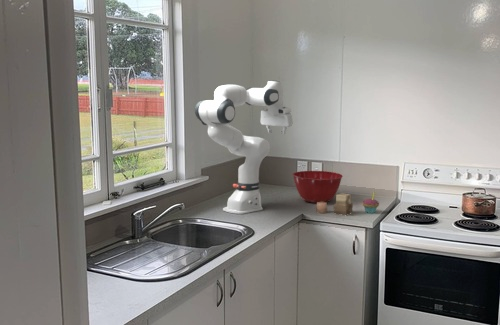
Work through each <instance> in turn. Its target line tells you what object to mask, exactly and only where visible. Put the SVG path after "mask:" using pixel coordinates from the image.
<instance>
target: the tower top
mask: <svg viewBox="0 0 500 325" xmlns="http://www.w3.org/2000/svg"><path fill="white" fill-rule="evenodd" d="M351 195H352V194H348V193H342V192H341V193H339V194H338V193H337V194H335V204H336V205H342V206H347V205H349V204H352V203H351V198H352V196H351Z"/></svg>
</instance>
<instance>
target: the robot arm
mask: <svg viewBox="0 0 500 325" xmlns="http://www.w3.org/2000/svg"><path fill="white" fill-rule="evenodd" d="M213 93H214V94H213V97H214V98H213V100H212V99H204V100H201V101H200V100H199V101H198V102H197V103H196V105H195V106H194V107H195V108H194V114H195V116H196V119H198V120H199V121H200V122H201V124H202V125H203V126H207V136H208V137H209V138H210V139H211V140H212V141H213V142H215V143H216V144H219V146H223V147H224V148H225V149H228V151H229V153H231V154H232V155H235V156H238V157H245V160H244V163H242V164H240V165H239V167H238V170H237V171H238V172H237V173H238V174H237V178H238V180H237V183H233V184H232V187H233V188H234V189H235V190H234V191H233V193H232V194H231V195H230V196H229V197H228V199H227V203H226V204H227V206H225V207H223V208H222V211H223V212H226V213H230V214H236V215H244V214H249V213H254V212H258V211H263V209H264V208H263V207H262V198H261V193H260V185H261V184H260V181H259V180H260V178H259V177H260V167H261V164H262V162H263V159H264V158H265V157H267V156H268V155H269V153H270V149H271V144H270V142H269V141H268V140H267V139H265V138H262V137H259V136H249V135H244V134H243V132H242V131H241V130H240V129H237V128H236V127H234V126H232V125H230V124H229V123H232V122H233V121H234V118H235V116H236V107H241V106H244V105H245V104H246V105H248V106H260V107H262V106H263V107H265V106H266V107H267V108H262V109H261V111H260V124H261V125H262V126H265V127H266V129H267V132H268V134H272V132H273V130H272V129H271V127H273V126H274V127H282V130H281V135H286V131H287V129H288V128H290V127H292V126H293V123H294V122H293V114H292V108H290V107H287V106H286V105H284V101H283V97H284V94H283V93H284V92H283V86H282V82H281V81H280V80H268V81H267V83H266V85H265V86H264V87H252V86H251V87H247V88H245V86H242V85H238V84H224V85H223V84H222V85H219V86H218V87H216V89H215V90H214V91H213Z"/></svg>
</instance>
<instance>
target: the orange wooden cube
mask: <svg viewBox="0 0 500 325" xmlns="http://www.w3.org/2000/svg"><path fill="white" fill-rule="evenodd" d="M327 203H328V202H317V203H316V213H317V212H318V213H317V214H326V213H327V212H328V211H327V207H328V206H327V205H328V204H327Z"/></svg>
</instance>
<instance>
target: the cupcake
mask: <svg viewBox="0 0 500 325" xmlns="http://www.w3.org/2000/svg"><path fill="white" fill-rule="evenodd" d="M372 193H373V194H372V198H366V199H364V200H363V201H362V204H361V205H362V206H363V208H364V210H365V213H367V212H368V213H367V214H375V213H376V211H377V208H378V207H379V206H380V202H379V201H378V200H376V199H375V194H376V192H375V190H374V191H373V192H372ZM374 212H375V213H374Z"/></svg>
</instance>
